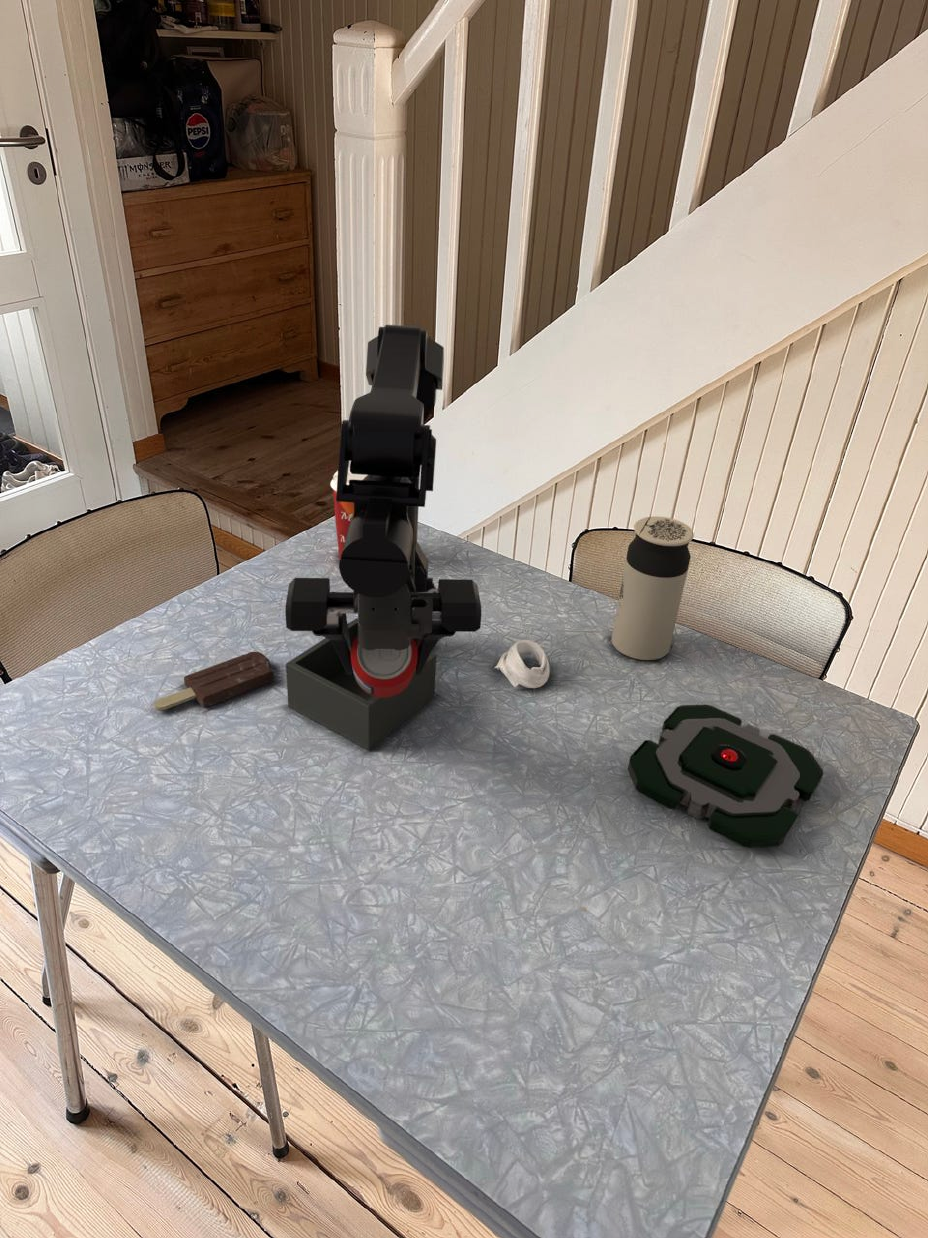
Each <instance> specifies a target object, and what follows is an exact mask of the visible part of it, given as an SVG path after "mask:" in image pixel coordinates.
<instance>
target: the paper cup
mask: <svg viewBox="0 0 928 1238" xmlns="http://www.w3.org/2000/svg"><path fill="white" fill-rule="evenodd" d="M366 476H367V475H361V474H352V473H351V472H350V466H349V467H348V476H347V484H346V485H349V480H363V479H364V478H365V477H366ZM337 479H338V470H336V472H335V473H334V474H333V475H332V479H331V480H330V487H331V488H332V493H333V505H334V506H333V507H334V519H335V521H334V522H335V529H336V539H337V547H338V548H337V550H338V557H339V559H340V557H341V553H342V550H343V546H344V542H345V539H346V535H347V532H348V528H349V525H350V522H351V519H352V518H353V515H354V503H352V502H337V501H336V494H337Z"/></svg>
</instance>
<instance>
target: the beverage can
mask: <svg viewBox="0 0 928 1238" xmlns="http://www.w3.org/2000/svg"><path fill="white" fill-rule="evenodd" d="M417 659H418V650H417V645H416V642H415V640H414V638H411V643H410V645H409V647H408V648H406V649H404V650H395V649H374V650H365V649H363V648H362V647H360V645H359V643H358V635H357V636H356V638H355V639H354V641H353V644H352V647H351V664H352V669H353V673H354V676H355V679H356V681H357V683H358V685H359V686H360V687H361V688H362V689H363V690H364V691H365V692H366V693H368V694H370V695H372V696H375V697H380V698H387V697H392V696H395V695H397V694H399V693H401V692H402V691H403V690H404V689H405V688H406V687H407V686H408V685H409V683H410V681H411V679H412V677H413V674H414V671H415V668H416V664H417Z"/></svg>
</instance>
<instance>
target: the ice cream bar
mask: <svg viewBox="0 0 928 1238" xmlns="http://www.w3.org/2000/svg"><path fill="white" fill-rule="evenodd" d="M270 664H271V663H270V659H269V658H267V656H266V655H264V653H262V652H261V651H250V652H248V653H245V654H242V655H239V656H236V657H234V658H231V659H228V660H225V661H223V662H219V663H216V664H214V665H212V666H208V667H206V668H203V669H201V670H197V671H195V672H193V673H190V674H187V675H185V676H184V677H183V682H184V683H183V684H184V686H185V687H186V688H185V689H182V690H180V691H177V692H174V693H172V694H169V695H166V696H164V697H161V698H158V699H156V700H155V701H154V702H153V708H154V710H156V711H165V710H168V709H171V708H173V707H176V706H178V705H182V704H183V703H187V702H188V701H192V700H194V699H195V700H196V701H197V703H198V704H199V705H201V706H202V707H203V708H205V709H206V708H209V707H211V706H214V705H216V704H219V703H221V702H225V701H227V700H229V699H231V698H234V697H237V696H239V695H243V694H244V693H245V694H246V693H248V692H250V691H252V690H255V689H257V688H260V687H262V686H265V685H268V684H270V683H272V682H274V680H275V674H274V671H273V670H272V669H270V668H271V665H270Z"/></svg>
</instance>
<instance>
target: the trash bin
mask: <svg viewBox="0 0 928 1238" xmlns="http://www.w3.org/2000/svg"><path fill="white" fill-rule="evenodd" d="M347 624H348V631H349V638H350V646H351V647H352V644H353V641H354V639H355V638H356V636H357V635H358V617H356V618H354V619H353V620H351V621H349V622H347ZM437 657H438V656H437V654H435V653H433V652H431V653H430V655H429V658H428V660H427V662H426V664H425V666H424V668H423V670H422V672H421V674H420V675H416V668H415V671H414V674H413V677H412V679H411V681H410V683H409V685H408V686H407V687H406V688H405V689H404V690H403V691H402V692H401V693H399V694H397V695H395V696H392V697H387V698H380V697H375V696H372V695H370V694H368V693H366V692H365V691H364V690H363V689H362V688H361V687H360V686H359V685H358V683H357V681H356V679H355V676H354V673H353V669H352V675H348V674H347V672H346V670H345V668H344V666H343V664H342V662H341V660H340V658H339V655H338V653H337V651H336V649H335V648H334V646H333V645H332V643H331V642H330V640H329V639H328V638H325V637H324V638H323V639H321V640H319V641H318V642H317V643H316V644H314V645H312V646H311V647H309V648H308V649H306V650H305V651H303V652H301V653H299V654H298V655H296V656H295V657H293V658H292V659H290V660H289V661H288V662H286V663H285V676H286V689H287V690H286V691H287V707H288V708H290V709H291V710H294V712H297V713H298V714H300V715H301V716H304V717H306V718H308V719H309V720H311V721H313V722H315V723H317V724H318V725H320V726H322V727H324V728H326V729H328V730H330V732H331V731H332V732H333V733H335V734H336V735H339V736H341V737H342V738H343V739H346V740H348V741H350V742H351V743H353V744H356V745H357V746H358V747H360V748H362V749H363V750H366V751H367V752H370V751H371V750H372V749H373V748H375V747H376V746H377V745H378V744H379V743H381V742H382V741H383V740H384V739H386V738H387V737H388V736H390V735H391V734H392V733H393V732H395V730H397V729H398V728H399V727H400V726H401V725H403V724H404V723H405V722H407V721H408V720H409V719H410V718H411V717H413V716H414V715H415V714H416V713H418V712H419V711H420V710H421V709H422V708H424V707H425V706H426V705H427V704H428V703H430V702H431V701H432V700H433V699H434V698H435V697H436V696H435V692H436V675H437V671H436V670H437Z"/></svg>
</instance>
